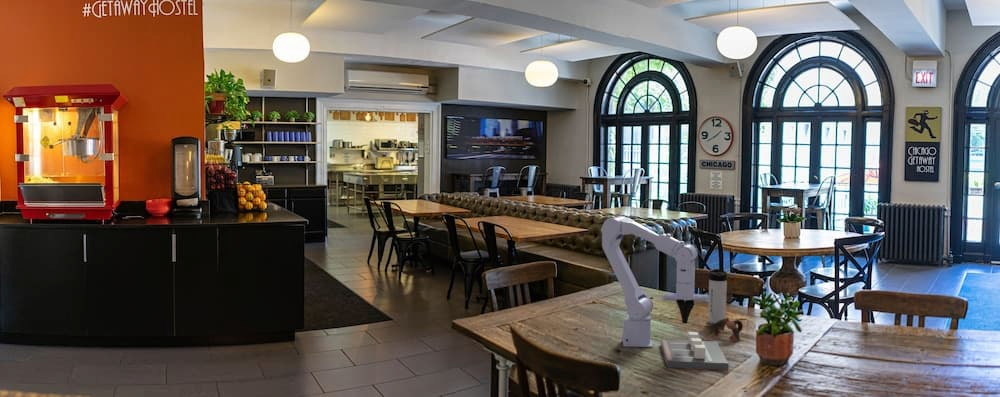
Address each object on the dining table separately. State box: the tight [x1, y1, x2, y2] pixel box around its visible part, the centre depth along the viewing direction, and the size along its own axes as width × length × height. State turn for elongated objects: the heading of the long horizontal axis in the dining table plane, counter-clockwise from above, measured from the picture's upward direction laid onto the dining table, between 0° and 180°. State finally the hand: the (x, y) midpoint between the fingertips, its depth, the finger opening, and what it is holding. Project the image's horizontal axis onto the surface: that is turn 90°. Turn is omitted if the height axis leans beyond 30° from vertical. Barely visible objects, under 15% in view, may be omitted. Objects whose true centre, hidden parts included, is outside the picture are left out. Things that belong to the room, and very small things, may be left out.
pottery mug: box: [708, 317, 744, 343], centre depth 244 cm, size 12×10×8 cm
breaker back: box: [687, 331, 700, 345], centre depth 230 cm, size 3×3×3 cm
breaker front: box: [694, 345, 705, 359], centre depth 217 cm, size 3×3×3 cm
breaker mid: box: [691, 337, 703, 351], centre depth 223 cm, size 3×3×3 cm
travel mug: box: [707, 268, 728, 325], centre depth 262 cm, size 6×7×20 cm
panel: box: [660, 339, 729, 371], centre depth 224 cm, size 18×22×2 cm
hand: (684, 322), depth 229 cm, fingers closed
